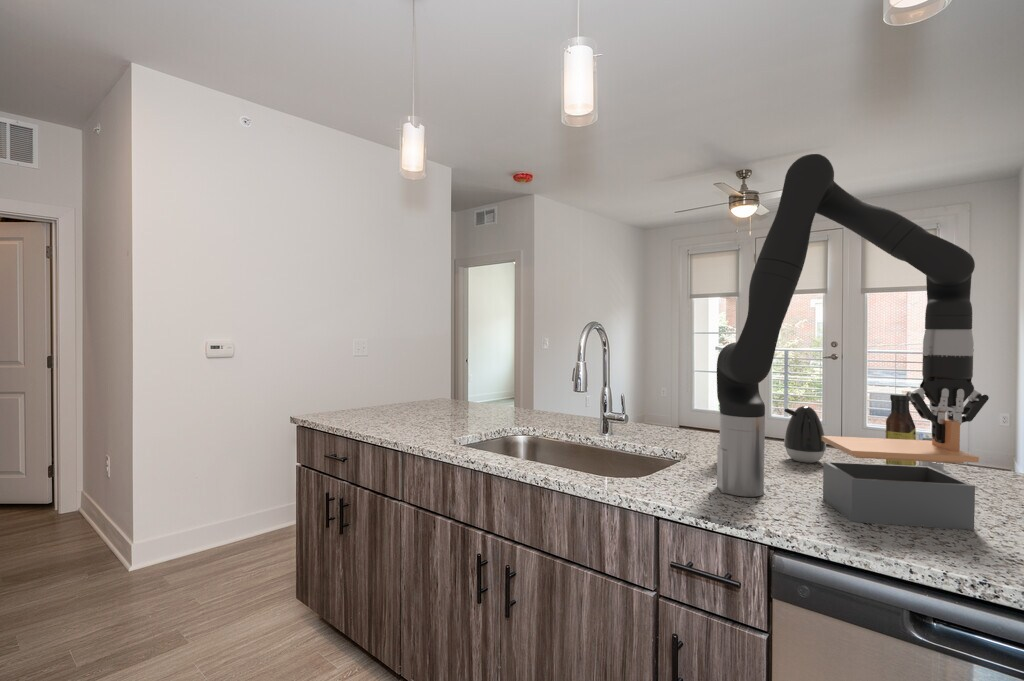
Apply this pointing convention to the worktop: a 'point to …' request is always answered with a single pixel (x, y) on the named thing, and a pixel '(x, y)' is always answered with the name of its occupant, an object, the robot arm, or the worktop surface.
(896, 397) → the sauce bottle
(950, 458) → the lid
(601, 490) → the worktop surface
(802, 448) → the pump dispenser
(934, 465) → the medicine box
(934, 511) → the tub
